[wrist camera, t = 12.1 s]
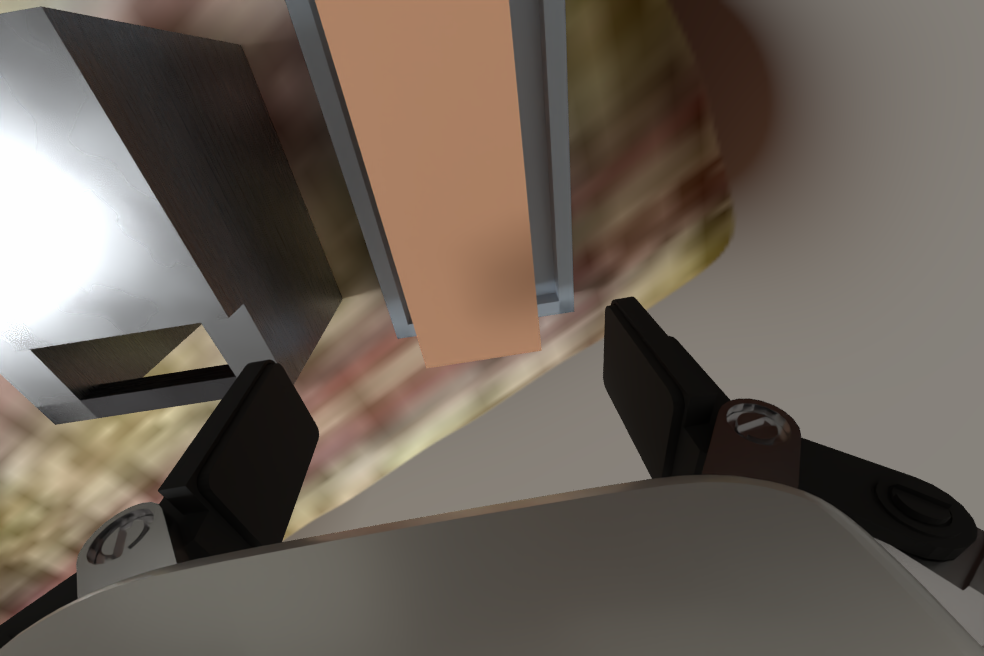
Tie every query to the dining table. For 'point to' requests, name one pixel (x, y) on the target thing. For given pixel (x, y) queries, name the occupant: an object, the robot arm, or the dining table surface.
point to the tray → (542, 140)
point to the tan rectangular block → (444, 165)
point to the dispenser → (143, 218)
